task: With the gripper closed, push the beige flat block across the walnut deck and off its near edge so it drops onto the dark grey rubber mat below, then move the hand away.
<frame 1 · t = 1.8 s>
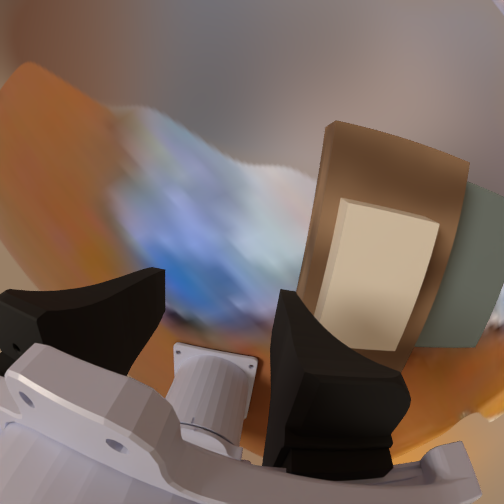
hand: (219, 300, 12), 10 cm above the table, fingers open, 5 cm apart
mat: (466, 274, 21), on the table
beige flat block: (369, 274, 17), point 4 cm above the table, touching deck
deck: (366, 256, 21), on the table
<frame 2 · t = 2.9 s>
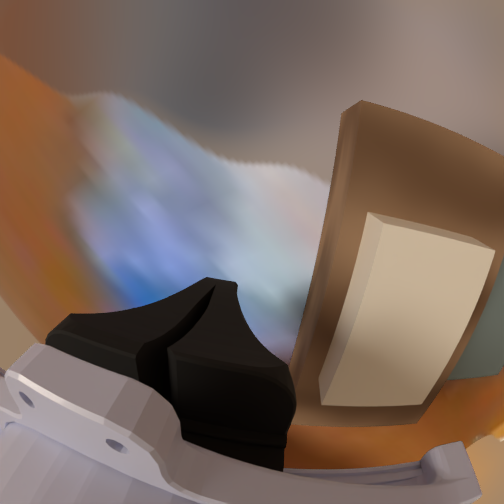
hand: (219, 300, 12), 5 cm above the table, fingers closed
mat: (499, 297, 15), on the table
beige flat block: (398, 314, 12), point 4 cm above the table, touching deck
deck: (390, 282, 16), on the table
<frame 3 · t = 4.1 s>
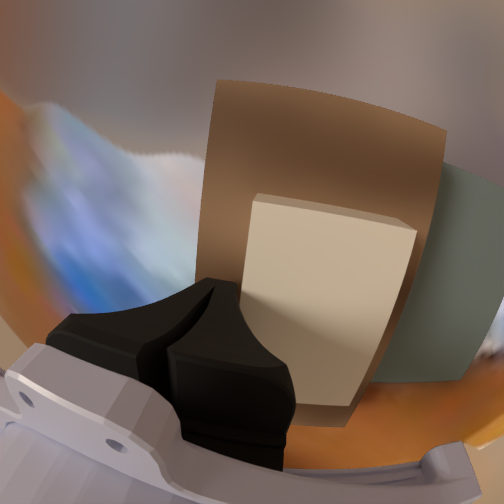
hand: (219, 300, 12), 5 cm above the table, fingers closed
mat: (450, 292, 16), on the table
beige flat block: (310, 303, 13), point 4 cm above the table, touching deck, gripper
deck: (299, 269, 16), on the table
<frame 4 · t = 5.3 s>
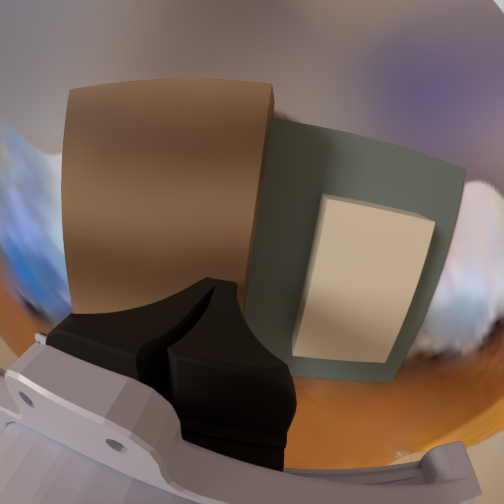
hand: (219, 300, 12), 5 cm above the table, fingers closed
mat: (352, 277, 16), on the table
beige flat block: (364, 294, 14), point 2 cm above the table, tilted 180°, touching mat
deck: (169, 248, 17), on the table
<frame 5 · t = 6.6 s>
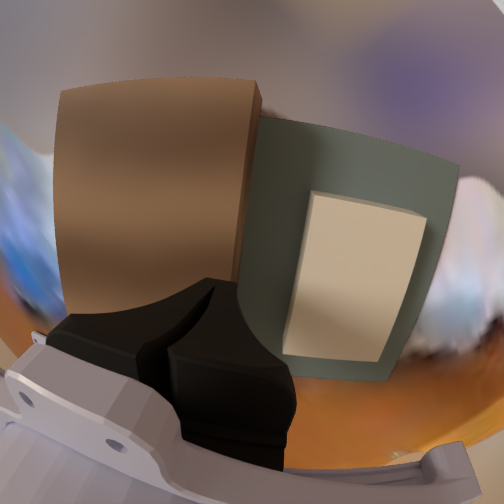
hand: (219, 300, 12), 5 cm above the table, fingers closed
mat: (343, 274, 16), on the table
beige flat block: (354, 292, 14), point 2 cm above the table, tilted 180°, touching mat
deck: (160, 246, 17), on the table
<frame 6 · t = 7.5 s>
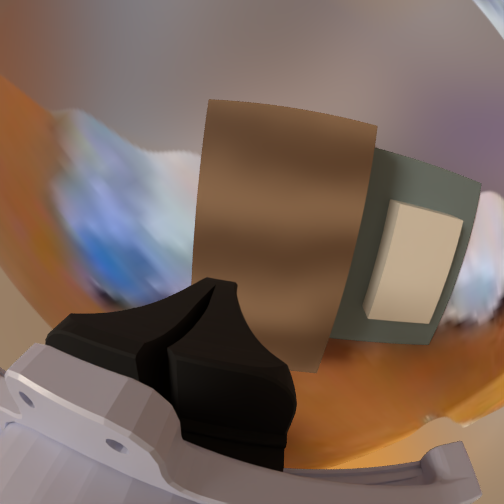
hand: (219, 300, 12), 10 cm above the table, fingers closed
mat: (405, 259, 21), on the table
beige flat block: (418, 270, 19), point 2 cm above the table, tilted 180°, touching mat
deck: (274, 237, 21), on the table
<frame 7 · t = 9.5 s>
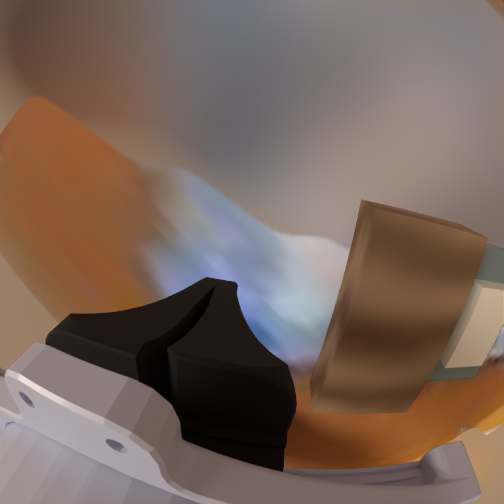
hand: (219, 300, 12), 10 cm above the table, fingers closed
mat: (472, 320, 22), on the table
beige flat block: (483, 331, 20), point 2 cm above the table, tilted 180°, touching mat
deck: (387, 312, 23), on the table
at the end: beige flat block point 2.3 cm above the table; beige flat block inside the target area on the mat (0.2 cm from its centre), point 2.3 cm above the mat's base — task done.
